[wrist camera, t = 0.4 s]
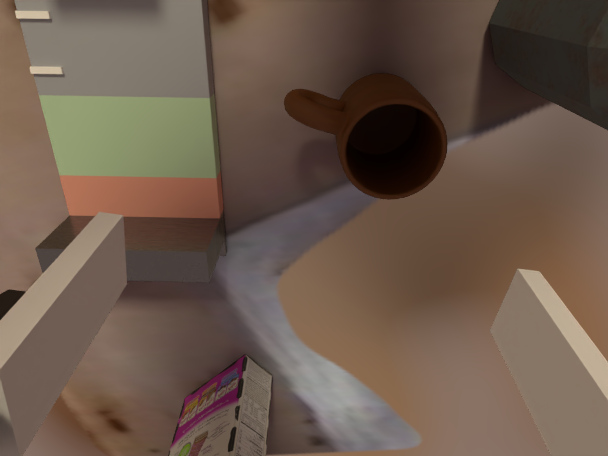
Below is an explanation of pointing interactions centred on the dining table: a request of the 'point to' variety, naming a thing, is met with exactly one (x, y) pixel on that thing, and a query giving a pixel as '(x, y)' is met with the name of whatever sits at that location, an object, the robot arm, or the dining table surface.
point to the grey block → (153, 246)
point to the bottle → (556, 51)
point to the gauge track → (128, 104)
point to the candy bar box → (226, 414)
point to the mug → (378, 133)
